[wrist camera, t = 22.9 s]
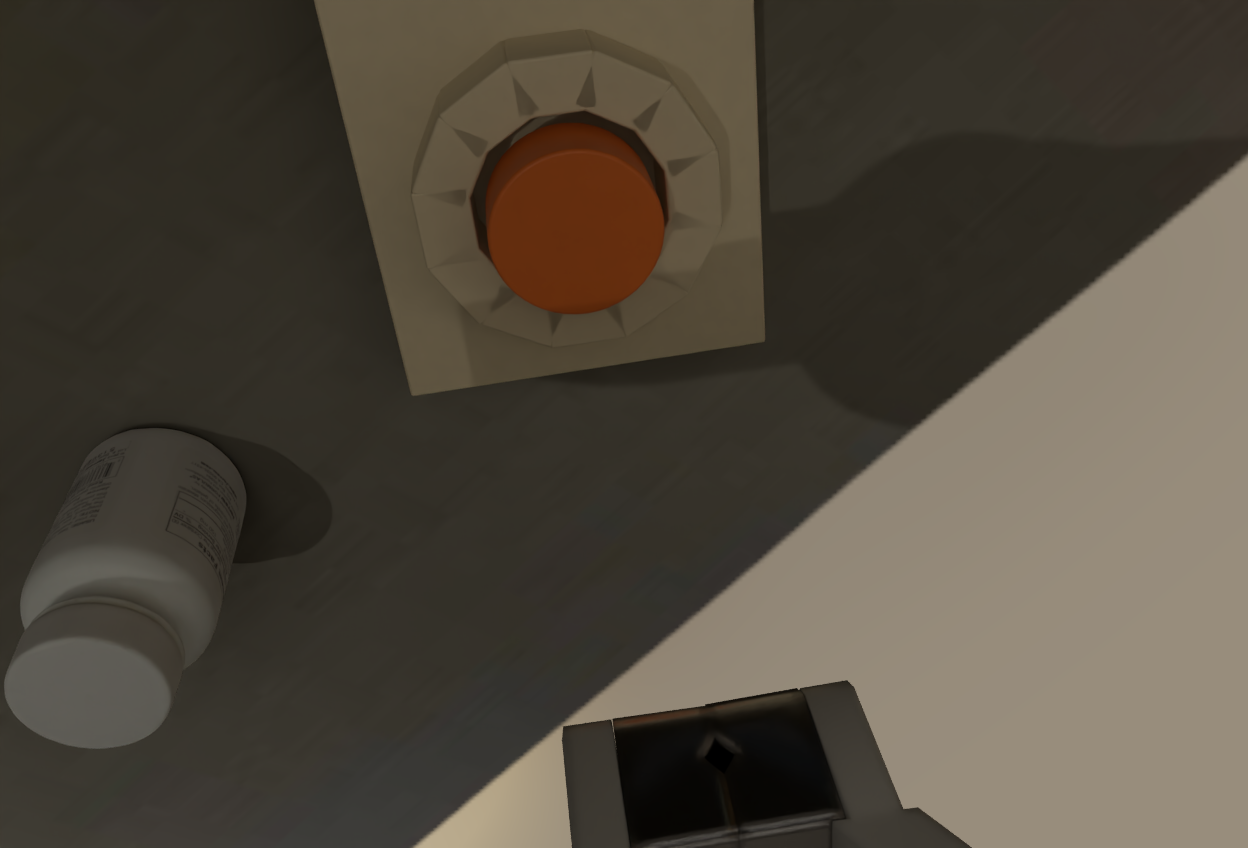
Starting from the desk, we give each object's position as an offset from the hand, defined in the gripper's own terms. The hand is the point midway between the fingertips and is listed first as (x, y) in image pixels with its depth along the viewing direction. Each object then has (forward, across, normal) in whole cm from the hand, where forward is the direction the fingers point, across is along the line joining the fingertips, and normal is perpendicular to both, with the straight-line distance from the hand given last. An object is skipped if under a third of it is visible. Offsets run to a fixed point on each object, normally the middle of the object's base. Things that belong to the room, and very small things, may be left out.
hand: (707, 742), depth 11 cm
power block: (+18, 0, 0) cm, 18 cm away
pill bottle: (+18, -12, -8) cm, 24 cm away
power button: (+15, 0, 0) cm, 15 cm away
